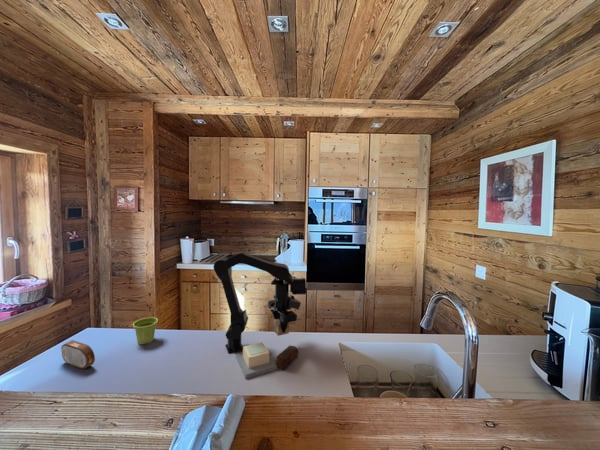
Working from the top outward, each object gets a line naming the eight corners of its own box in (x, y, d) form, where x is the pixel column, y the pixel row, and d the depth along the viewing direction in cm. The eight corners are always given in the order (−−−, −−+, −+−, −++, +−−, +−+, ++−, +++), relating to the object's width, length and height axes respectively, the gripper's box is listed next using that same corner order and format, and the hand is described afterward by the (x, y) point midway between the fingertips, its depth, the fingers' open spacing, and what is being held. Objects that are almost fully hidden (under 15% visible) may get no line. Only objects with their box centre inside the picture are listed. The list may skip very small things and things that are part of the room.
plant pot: (162, 337, 114) (162, 318, 113) (145, 348, 104) (145, 328, 104) (145, 334, 116) (145, 316, 115) (127, 345, 107) (127, 325, 106)
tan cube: (273, 330, 108) (273, 319, 108) (284, 328, 111) (284, 317, 110) (278, 335, 104) (278, 324, 104) (288, 333, 106) (289, 322, 106)
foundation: (235, 357, 100) (236, 343, 99) (264, 350, 105) (264, 337, 105) (245, 378, 87) (245, 363, 87) (276, 369, 93) (277, 354, 93)
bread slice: (96, 367, 91) (95, 345, 91) (86, 372, 88) (85, 349, 88) (69, 358, 96) (69, 337, 96) (59, 363, 93) (59, 341, 93)
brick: (284, 371, 92) (284, 359, 92) (275, 368, 94) (275, 356, 94) (298, 357, 101) (298, 346, 101) (290, 354, 103) (290, 343, 103)
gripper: (309, 298, 102) (307, 335, 103) (289, 285, 118) (288, 317, 119) (284, 302, 97) (283, 341, 98) (267, 288, 113) (266, 321, 114)
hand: (281, 329), depth 107 cm, fingers closed on tan cube, 5 cm apart
